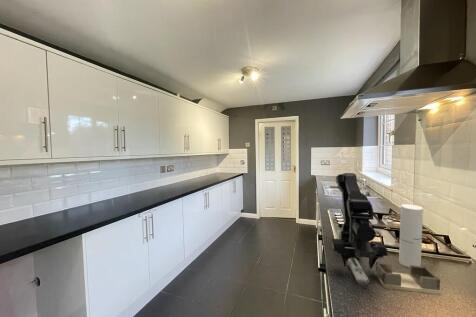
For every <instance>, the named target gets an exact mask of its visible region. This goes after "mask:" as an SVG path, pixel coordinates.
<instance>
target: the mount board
mask: <svg viewBox="0 0 476 317" xmlns="http://www.w3.org/2000/svg"><path fill="white" fill-rule="evenodd" d="M392 273H393V274H400V275H401V286H396V285H387V284H384V283H383V281H382V280H381V278H380V277H379V276H378V274H377V273H376V270H374V275H375V276H376V277H377V279H378V281H379V282H380V283H381V285H382V287H383V288H384V289H389V290H390V289H391V290H399V291H406V292H414V293H415V292H417V293H425V294H434V295H441V294H442V293H441V292H442V291H441V289H440V290H432V289H423V288H421V287H420V286H419V285H418V284H417V282H416V281H415V280H414V279H413V278H412V277H411V276H410V275H409V273H403V272H393V271H392Z"/></svg>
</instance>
